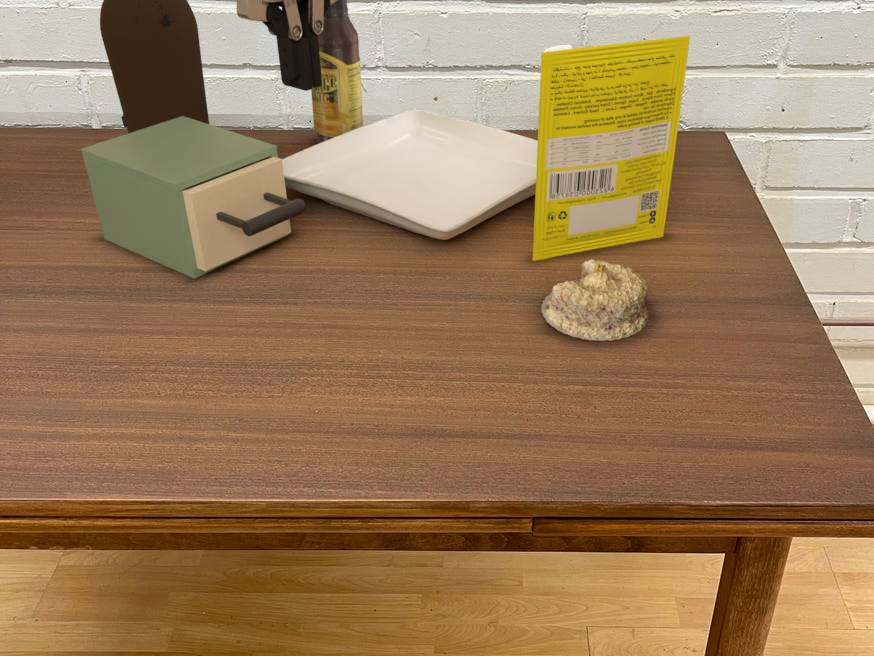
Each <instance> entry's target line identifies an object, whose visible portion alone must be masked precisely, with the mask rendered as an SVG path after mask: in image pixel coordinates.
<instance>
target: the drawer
mask: <svg viewBox="0 0 874 656" xmlns="http://www.w3.org/2000/svg"><path fill="white" fill-rule="evenodd" d="M282 159H283V158H279V157H278V158H277V157H271V158H268V159H266V160H263V161H261V162H260V160H259V161H256V162H254V163H251V164H248V165H246V166H243V167H240V168H238V169H235V170H233V171H230V172H227V173H225V174H222V175H221V177H219V178H216V179H214V180H211V181H208V182H206V183H203V184H200V185H198V186H195V187H193V188H190V189H187V188H185V189H183V190H184V191H183V197H184V202H185V207H186V212H187V217H188V222H189V227H190V232H191V237H192V242H193V247H194V252H195V257H196V263H197V268H198V269H200V270H203V271H205V272H206V271H208V270H210V269H212V268H215V267H217V266H219V265H221V264H223V263H226V262H228V261H230V260H232V259H234V258H237V257H239V256H241V255H243V254H245V253H248V252H250V251H252V250H254V249H256V248H259V247H261V246H263V245H265V244H267V243H270V242H272V241H274V240H276V239H278V238H280V237H283V236H285V235H287V234H288V235H289V234H291V233H292V227H291V221H290V220H291V219H293V218H294V217H297V216H300V215H301V214H304V213H305V212H306V210H307V206H306V204H305V202H304V200H303V199H302V198H296V199H294V200H290V199H288V197H287V190H286V188H287V187H286V186H285V180H284V172H283V164H282Z"/></svg>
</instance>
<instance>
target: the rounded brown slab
mask: <svg viewBox="0 0 874 656" xmlns="http://www.w3.org/2000/svg"><path fill="white" fill-rule="evenodd" d="M99 29H100V35H101V39H102V42H103V46H104V50H105V52H106V57H107V60H108V63H109V68H110V71H111V74H112V78H113V82H114V85H115V88H116V93H117V96H118V99H119V104H120V107H121V111H122V116H121V121H122V125H123V127H124V128H126V130H127V134H129V133H132V132H135V131H138V130H141V129H144V128H147V127H150V126H153V125H156V124H160V123H163V122H166V121H169V120H172V119H175V118H178V117H181V116H184V117H188V118H191V119H194V120H197V121H200V122H203V123H206V124H210V119H209V111H208V103H207V94H206V86H205V78H204V70H203V63H202V62H203V61H202V53H201V44H200V36H199V35H200V34H199V27H198V23H197V18H196V16H195V14H194V12H193V9H192V7H191V5H190V3H189V1H188V0H103V1H102V3H101V7H100V13H99Z"/></svg>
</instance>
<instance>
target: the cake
mask: <svg viewBox="0 0 874 656" xmlns="http://www.w3.org/2000/svg"><path fill="white" fill-rule="evenodd" d="M580 273H581V278H579V281H578V280H576V279H574V280H571V281H570V280H566V281H564V282H560V283H557V284H555V285H553V287H552V290H551V292H549V294H548V295H546V296H545V298H544V299H543V300H542V303H541V304H540V305H541V306H540V307H541V310H540V312H541V313H542V317H543V318H544V319H545V321H546V322H547V323H548V324H549V325H550V326H551V327H552V328H554V329H556V330H557V331H558V332H561V333H562V334H564V335H568V336H570V337H572V338H579V339H581V340H586V341H587V340H588V341H592V342H593V341H595V342H596V341H600V342H606V341H609V342H613V341H616V340H623V339H625V338H630V337H632V336H636V334H638V333H639V332H641V331H642V330H643V329H644V328H646V325H647V323H648V322H649V318H650V316H649V311H648V310H647V307H646V306H647V305H646V301H647V295H648V291H649V288H650V287H649V286H648V285H649V282H648V280H646V279H645V278H644V277H643V276H642V275H641V274H640V273H636V271H634V270H633V267H629V266H627V267H626V266H625V264H620V263H619V264H617V263H614V262H607V261H604V259H601V260H598V259H597V260H595V259H592V258H591V259H589V260H585V261H584V262H582V263H581V272H580Z"/></svg>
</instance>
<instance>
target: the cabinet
mask: <svg viewBox="0 0 874 656" xmlns="http://www.w3.org/2000/svg"><path fill="white" fill-rule="evenodd" d="M80 150H81V154H82V159H83V163H84V165H85V166H84V167H85V169H86V173H87V178H88V181H89V185H90V190H91V193H92V196H93V201H94V205H95V208H96V212H97V217H98V220H99V224H100V228H101V232H102V235H103V240H105V241H107V242H110V243H112V244H114V245H117V246H118V247H120V248H121V247H122V248H123V249H125V250H128V251H130V252H132V253H135V254H138V255H139V256H141V257H144V258H146V259H148V260H151V261H152V262H155V263H157V264H160V265H162V266H164V267H167V268H169V269H171V270H173V271H176V272H178V273H181V274H182V275H185V276H187V277H190V278H191V279H193V280H195V279H197V278H199V277H201V276H203V275H206V274H208V273H210V272H212V271H214V270H217V269H218V268H222V267H224V266H225V265H228V264H230V263H232V262H234V261H237V260H238V259H241V258H243V257H244V256H247V255H250V254H253V253H254V252H256V251H258V250H260V249H262V248H265V247H267V246H269V245H272V244H273V243H276V242H277V241H280V240H282V239H285V238H287V237H288V236H289V234H287V235H285V236H283V237H280V238H278V239H276V240H274V241H272V242H270V243H267V244H265V245H263V246H261V247H259V248H256V249H254V250H252V251H250V252H248V253H245V254H243V255H241V256H239V257H237V258H234V259H232V260H230V261H228V262H226V263H223V264H221V265H219V266H217V267H215V268H212V269H210V270H208V271H206V272H205V271H203V270H200V269H198V268H197V263H196V257H195V252H194V247H193V242H192V237H191V232H190V227H189V222H188V217H187V212H186V207H185V202H184V197H183V191H184V190H183V189H185V188H188V187H191V186H193V185H196V184H198V183H201V182H204V181H206V180H209V179H212V178H214V177H217V176H219V175H222V174H225V173H227V172H230V171H233V170H235V169H238V168H240V167H243V166H246V165H248V164H251V163H254V162H256V161H259V160H260V162H261V161H263V160H266V159H268V158H271V157H277V158H279V154H278V146H277V145H275V144H272V143H269V142H266V141H263V140H259V139H256V138H253V137H251V136H248V135H244V134H241V133H237V132H235V131H232V130H228V129H225V128H222V127H218V126H216V125H212V124H210V123H209V124H206V123H203V122H200V121H197V120H194V119H191V118H188V117H184V116H181V117H178V118H175V119H172V120H169V121H166V122H163V123H160V124H156V125H153V126H150V127H147V128H144V129H141V130H138V131H135V132H132V133H126V134H125V133H124V134H122V135H120V136H116V137H113V138H110V139H107V140H104V141H101V142H98V143H95V144H91V145H89V146H85V147H83V148H80Z"/></svg>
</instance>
